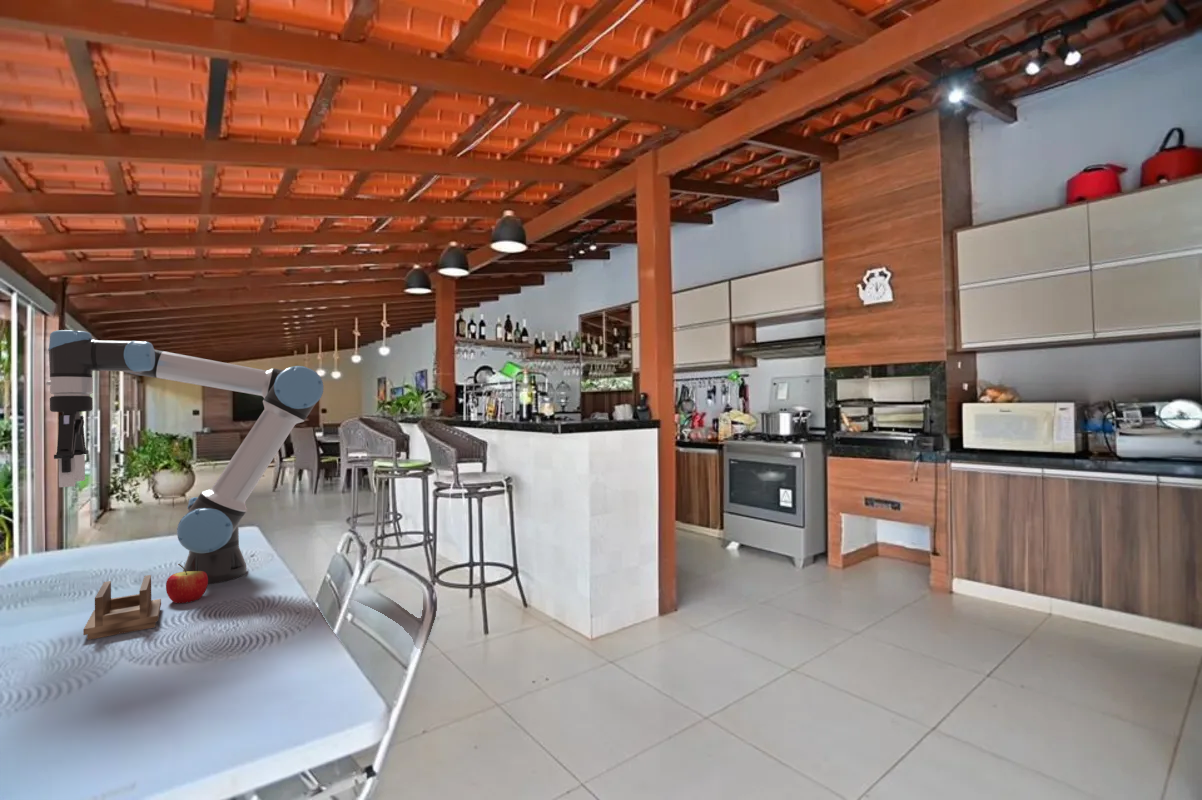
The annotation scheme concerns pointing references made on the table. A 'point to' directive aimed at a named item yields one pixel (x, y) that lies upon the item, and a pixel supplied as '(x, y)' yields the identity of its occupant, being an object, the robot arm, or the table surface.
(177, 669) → the table surface
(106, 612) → the stand
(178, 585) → the apple
